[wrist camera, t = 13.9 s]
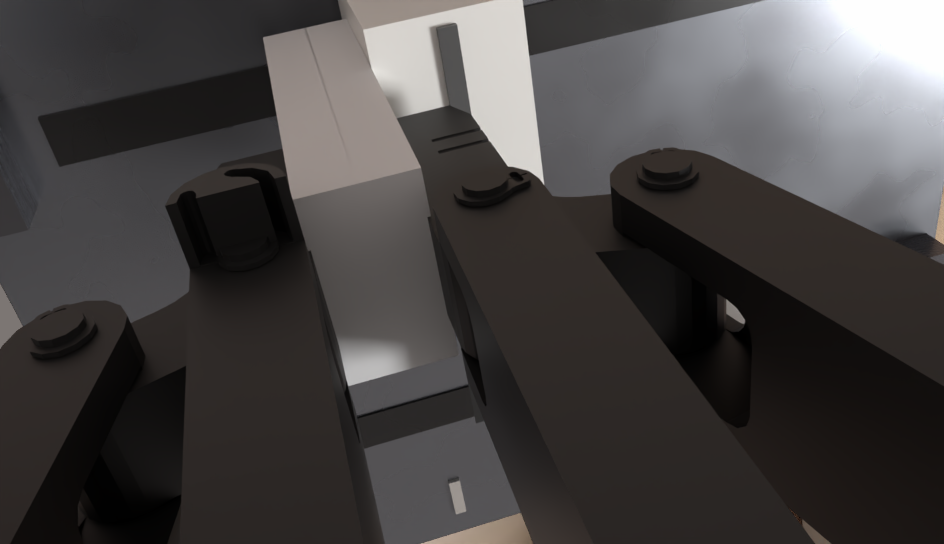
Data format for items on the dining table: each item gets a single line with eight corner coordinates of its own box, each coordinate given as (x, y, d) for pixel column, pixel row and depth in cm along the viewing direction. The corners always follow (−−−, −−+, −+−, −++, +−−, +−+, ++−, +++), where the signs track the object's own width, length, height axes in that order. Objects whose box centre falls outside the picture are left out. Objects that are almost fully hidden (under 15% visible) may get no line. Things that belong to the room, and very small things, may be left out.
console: (180, 560, 25) (177, 650, 23) (-153, -106, 15) (-224, -79, 13) (868, 354, 28) (932, 413, 26) (950, -316, 18) (1067, -326, 16)
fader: (376, 168, 18) (415, 265, 15) (330, -29, 16) (364, 31, 12) (487, 140, 18) (551, 229, 15) (457, -56, 16) (523, -5, 13)
